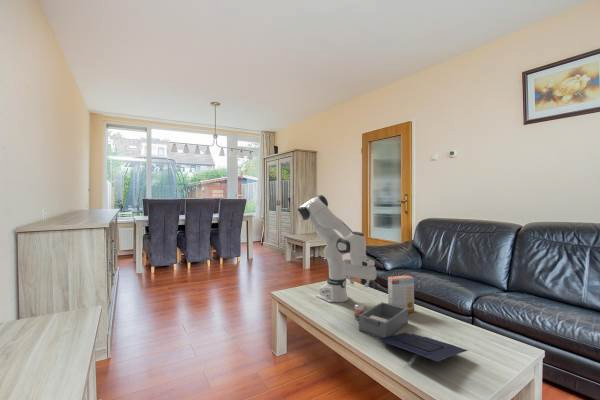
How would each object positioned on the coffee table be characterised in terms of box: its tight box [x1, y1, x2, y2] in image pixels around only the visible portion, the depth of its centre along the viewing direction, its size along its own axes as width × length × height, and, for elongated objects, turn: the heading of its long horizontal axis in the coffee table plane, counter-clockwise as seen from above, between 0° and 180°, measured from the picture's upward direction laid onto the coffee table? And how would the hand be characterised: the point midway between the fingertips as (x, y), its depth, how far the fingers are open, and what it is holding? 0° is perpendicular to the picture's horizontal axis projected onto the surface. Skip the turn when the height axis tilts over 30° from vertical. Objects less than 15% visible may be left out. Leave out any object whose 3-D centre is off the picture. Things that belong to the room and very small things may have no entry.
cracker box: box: [387, 275, 415, 314], centre depth 171 cm, size 14×6×21 cm, turn 99°
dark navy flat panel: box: [378, 332, 469, 362], centre depth 126 cm, size 24×30×4 cm
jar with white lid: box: [354, 302, 365, 322], centre depth 161 cm, size 5×5×8 cm
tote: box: [358, 302, 409, 339], centre depth 150 cm, size 15×27×8 cm, turn 137°
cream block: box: [369, 315, 388, 322], centre depth 145 cm, size 10×7×5 cm
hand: (359, 285), depth 161 cm, fingers open, 8 cm apart
